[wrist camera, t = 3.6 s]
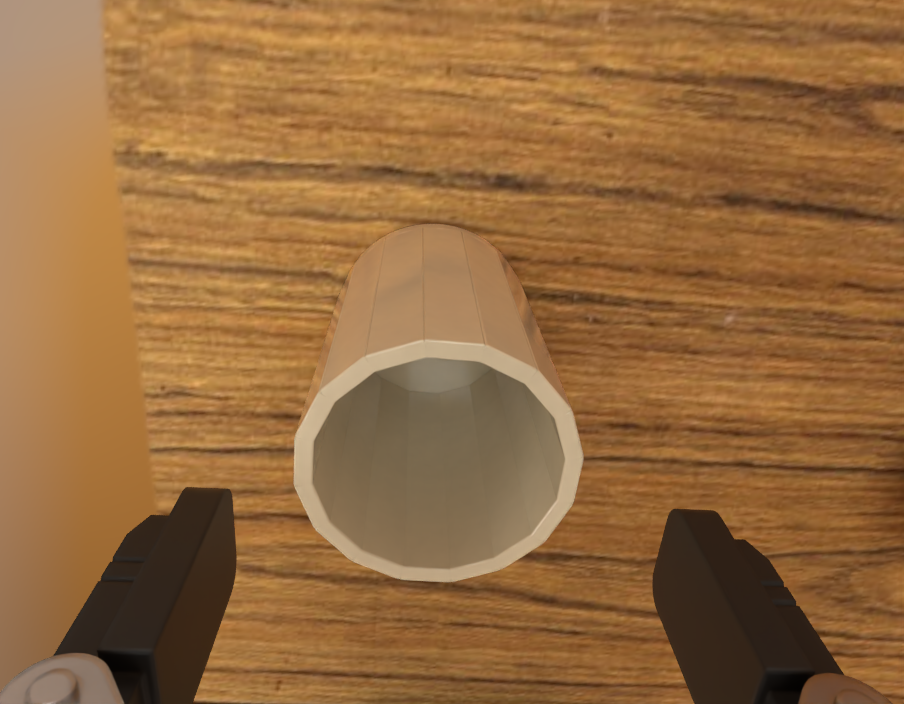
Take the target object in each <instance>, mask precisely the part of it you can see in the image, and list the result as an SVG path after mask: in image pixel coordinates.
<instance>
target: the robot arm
mask: <svg viewBox="0 0 904 704" xmlns="http://www.w3.org/2000/svg"><path fill="white" fill-rule="evenodd" d="M235 573H236V543H235V528H234V514H233V500H232V494H231V491H230V490H229V489H218V488H194V487H186V488H185V489H184V490H183V491H182V493H181V495H180V497H179V499H178V500H177V502H176V504H175V506H174V508H173V510H172V511H171V513H170V515H169V516H163V515H150V516H149V517H148V518H147V519H146V520H144V521H143V522H142V523H140V524H139V525H138V526H137V527H135V528H134V529H133V530H132V531H130V532H129V533H128V534H127V535H126V537H125V538H124V540H123V542H122V543H121V545H120V547H119V548H118V550H117V551H116V553H115V555H114V556H113V561H112V562H110V563H109V565H108V566H107V568H106V570H105V571H104V573H103V575H102V576H101V581H99V582H98V583H97V584H96V586H95V588H94V590H93V591H92V593H91V594H90V596H89V598H88V599H87V601H86V603H85V604H84V606H83V608H82V610H81V611H80V613H79V614H78V616H77V618H76V619H75V621H74V623H73V624H72V626H71V627H70V629H69V631H68V632H67V634H66V636H65V638H64V639H63V641H62V642H61V644H60V646H59V647H58V649H57V651H56V653H55V654H54V656H53V657H50V658H47V659H44V660H42V661H40V662H37V663H35V664H33V665H32V666H30V667H28V668H27V669H25V670H23V671H22V672H21V673H19V674H18V675H17V676H15V677H14V678H13V679H12V680H11V681H10V682H9V683H8V684H7V685H6V686H5V687H4V688H3V690H2V691H1V692H0V704H192V703H193V701H194V698H195V695H196V692H197V689H198V686H199V684H200V681H201V678H202V675H203V672H204V669H205V666H206V664H207V661H208V658H209V655H210V652H211V649H212V647H213V644H214V641H215V638H216V635H217V632H218V630H219V627H220V624H221V621H222V618H223V615H224V613H225V610H226V607H227V604H228V601H229V598H230V596H231V592H232V589H233V585H234V580H235ZM653 597H654V602H655V606H656V609H657V612H658V614H659V617H660V619H661V621H662V624H663V626H664V629H665V631H666V634H667V636H668V639H669V641H670V644H671V646H672V649H673V651H674V654H675V656H676V659H677V661H678V664H679V666H680V669H681V671H682V674H683V676H684V679H685V681H686V684H687V686H688V689H689V691H690V694H691V696H692V699H693V701H694V703H695V704H892V703H891V702H890V701H889V700H888V699H887V698H886V697H884V696H883V695H882V694H881V693H879V692H878V691H876V690H875V689H873V688H872V687H870V686H869V685H867V684H865V683H863V682H861V681H859V680H856V679H854V678H851V677H848V676H845V675H844V674H843V672H842V671H841V669H840V668H839V666H838V665H837V663H836V662H835V660H834V659H833V657H832V656H831V654H830V653H829V651H828V650H827V648H826V646H825V645H824V643H823V642H822V640H821V639H820V637H819V636H818V634H817V633H816V631H815V630H814V628H813V627H812V625H811V624H810V622H809V621H808V619H807V617H806V616H805V614H804V613H803V611H802V610H801V608H800V607H799V606H796V601H795V599H794V598H793V596H792V595H791V593H790V592H789V590H788V588H787V587H784V582H783V581H782V579H781V578H780V576H779V575H778V573H777V572H776V570H775V569H774V567H773V566H772V564H771V563H770V561H769V560H768V559H767V558H766V557H765V556H764V555H762V554H761V553H760V552H759V551H758V550H756V549H755V548H754V547H753V546H752V545H750V544H749V543H748V542H747V541H746V540H739V539H734V538H733V536H732V535H731V533H730V531H729V530H728V528H727V527H726V525H725V523H724V522H723V520H722V518H721V517H720V515H719V514H718V513H717V512H716V511H712V510H690V509H673V510H672V511H671V512H670V513H669V516H668V519H667V522H666V526H665V530H664V534H663V538H662V542H661V545H660V549H659V553H658V557H657V561H656V565H655V569H654V573H653Z"/></svg>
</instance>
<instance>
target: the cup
mask: <svg viewBox="0 0 904 704" xmlns="http://www.w3.org/2000/svg"><path fill="white" fill-rule="evenodd" d="M583 456H584V455H583V450H582V446H581V442H580V438H579V434H578V430H577V426H576V422H575V418H574V414H573V411H572V408H571V406H570V403H569V401H568V398H567V396H566V393H565V391H564V389H563V386H562V384H561V381H560V379H559V376H558V374H557V371H556V369H555V366H554V364H553V361H552V359H551V357H550V354H549V352H548V349H547V347H546V344H545V342H544V339H543V337H542V334H541V332H540V330H539V327H538V325H537V322H536V320H535V317H534V315H533V312H532V310H531V307H530V305H529V302H528V300H527V298H526V295H525V293H524V290H523V288H522V285H521V283H520V280H519V278H518V276H517V275H516V274H515V273H514V271H513V269H512V267H511V266H510V264H509V263H508V261H507V260H506V258H505V257H504V256H503V255H502V254H501V253H500V252H499V251H498V250H497V249H496V248H495V247H494V246H493V245H492V244H490V243H489V242H488V241H486V240H485V239H483V238H482V237H480V236H478V235H477V234H474V233H472V232H470V231H468V230H465V229H462V228H459V227H455V226H450V225H444V224H420V225H413V226H409V227H405V228H402V229H399V230H396V231H394V232H391V233H389V234H388V235H386V236H384V237H382V238H380V239H379V240H377V241H376V242H375V243H373V244H372V245H371V246H370V247H368V248H367V249H366V250H365V251H364V252H363V253H362V254H361V256H360V257H359V258H358V259H357V260H356V262H355V263H354V265H353V266H352V268H351V270H350V271H349V273H348V276H347V278H346V280H345V283H344V285H343V287H342V289H341V291H340V293H339V296H338V300H337V303H336V306H335V309H334V312H333V316H332V319H331V322H330V325H329V328H328V332H327V335H326V338H325V341H324V344H323V348H322V351H321V354H320V357H319V360H318V364H317V367H316V370H315V373H314V376H313V380H312V383H311V386H310V389H309V393H308V396H307V399H306V402H305V405H304V409H303V412H302V415H301V418H300V421H299V425H298V428H297V431H296V434H295V438H294V487H295V489H296V491H297V493H298V496H299V498H300V500H301V502H302V504H303V506H304V508H305V510H306V512H307V514H308V517H309V519H310V521H311V523H312V525H313V527H314V528H315V530H316V531H317V532H318V533H320V534H321V535H322V536H323V537H324V538H325V539H326V540H328V541H329V542H330V543H331V544H332V545H333V546H334V547H336V548H337V549H338V550H339V551H340V552H341V553H343V554H344V555H345V556H346V557H347V558H348V559H349V560H351V561H353V562H354V563H357V564H360V565H362V566H365V567H368V568H370V569H373V570H375V571H378V572H381V573H383V574H386V575H388V576H391V577H394V578H396V579H401V580H414V581H432V582H451V581H452V582H455V581H459V580H463V579H467V578H471V577H475V576H479V575H483V574H487V573H491V572H495V571H499V570H501V569H504V568H505V567H507V566H509V565H510V564H512V563H513V562H515V561H516V560H518V559H520V558H521V557H523V556H524V555H526V554H527V553H529V552H531V551H532V550H534V549H535V548H537V547H538V546H540V545H542V544H543V542H545V541H546V540H547V539H548V537H549V536H550V535H551V533H552V532H553V531H554V529H555V528H556V527H557V525H558V524H559V523H560V521H561V520H562V519H563V517H564V516H565V515H566V513H567V512H568V511H569V509H570V508H571V507H572V505H573V503H574V500H575V495H576V491H577V486H578V482H579V478H580V473H581V469H582V464H583V460H584V458H583Z"/></svg>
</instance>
